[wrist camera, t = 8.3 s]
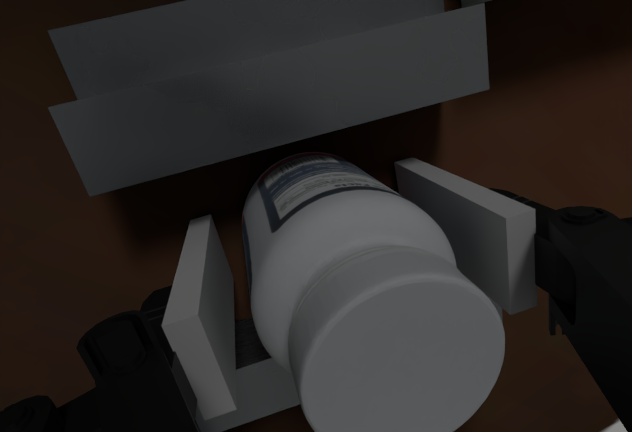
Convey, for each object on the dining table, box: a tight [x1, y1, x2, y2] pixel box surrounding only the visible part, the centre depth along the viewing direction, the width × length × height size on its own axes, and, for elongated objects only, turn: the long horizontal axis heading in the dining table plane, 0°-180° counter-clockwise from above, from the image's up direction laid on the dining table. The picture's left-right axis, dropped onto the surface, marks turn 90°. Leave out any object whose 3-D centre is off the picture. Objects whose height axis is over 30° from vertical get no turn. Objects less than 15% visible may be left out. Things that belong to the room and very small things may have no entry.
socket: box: [48, 0, 503, 432], centre depth 14 cm, size 12×16×3 cm
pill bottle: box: [242, 152, 505, 432], centre depth 11 cm, size 5×5×9 cm
